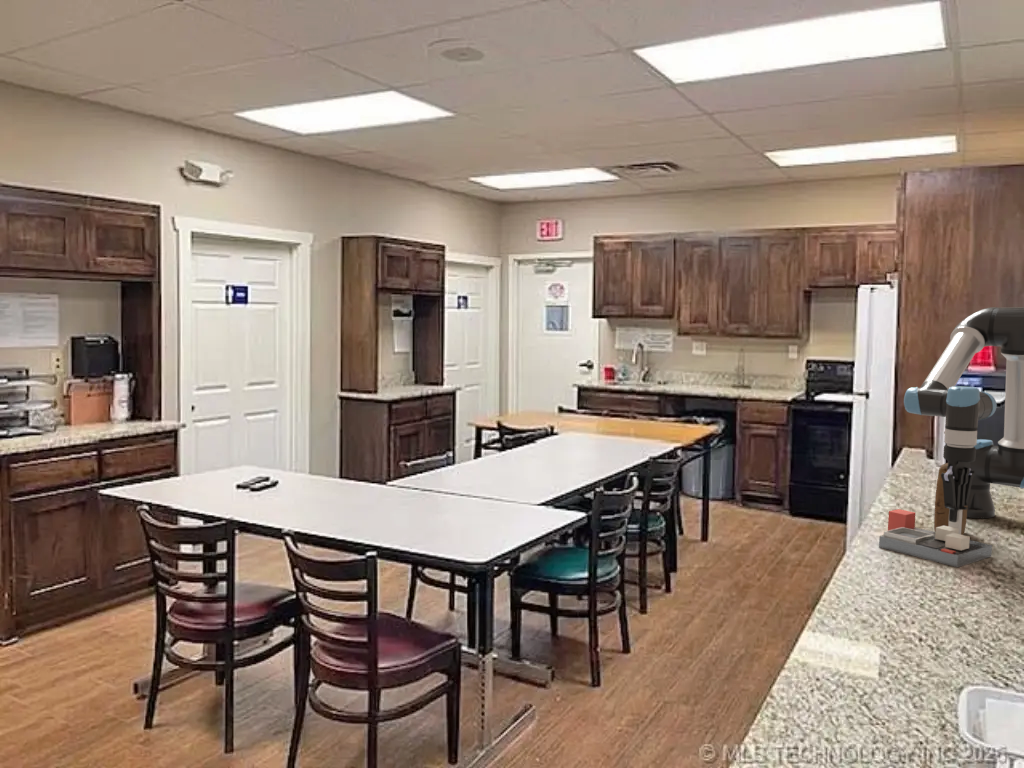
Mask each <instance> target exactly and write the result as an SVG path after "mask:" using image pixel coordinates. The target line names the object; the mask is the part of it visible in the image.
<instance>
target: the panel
mask: <svg viewBox="0 0 1024 768" xmlns="http://www.w3.org/2000/svg"><path fill="white" fill-rule="evenodd" d="M878 547H879V548H881V549H884V550H889V551H892V552H897V553H900V554H905V555H908V556H911V557H917V558H919V559H924V560H927V561H930V562H934V561H935V563H938V562H939V563H940V564H943V565H945V566H946V565H947V566H951V567H954V568H959V567H962V566H966V565H970V564H972V563H976V562H979V561H981V560H984V559H988V558H990V557H992V553H993V551H992V550H993V545H992V544H990V543H989V544H988V543H984V542H980V541H975V540H971V539H970V541H969V548H968V549H964V550H956V549H952V548H948V547H945V541H943V540H938V539H935V531H932V530H929V529H923V528H920V527H916V526H915V527H914V528H910V529H909V528H905V527H900V528H896V529H892V530H888V529H887V530H884V531H883V535H880V536H879V540H878ZM939 563H938V564H939Z"/></svg>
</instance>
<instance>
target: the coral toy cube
mask: <svg viewBox="0 0 1024 768" xmlns="http://www.w3.org/2000/svg"><path fill="white" fill-rule="evenodd" d="M887 518H888V521H887V531H888V530H892V529H896V528H900V527H905V528H909V529H910V528H914V527H915V528H916V512H914V511H909V510H905V509H899V508H898V509H892V510H889V511H888V517H887Z"/></svg>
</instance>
